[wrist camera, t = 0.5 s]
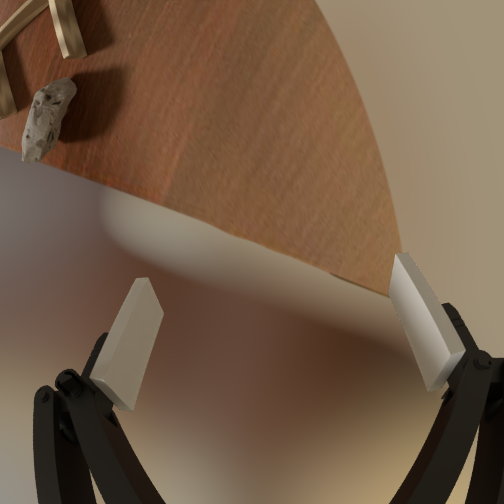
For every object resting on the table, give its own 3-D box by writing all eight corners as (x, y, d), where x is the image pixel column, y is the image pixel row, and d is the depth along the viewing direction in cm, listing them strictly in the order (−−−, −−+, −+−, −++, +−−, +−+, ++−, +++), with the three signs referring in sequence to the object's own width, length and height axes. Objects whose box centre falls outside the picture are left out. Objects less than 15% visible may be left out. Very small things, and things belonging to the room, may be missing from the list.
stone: (50, 158, 37) (33, 173, 29) (25, 144, 34) (3, 157, 26) (89, 88, 34) (79, 85, 27) (63, 73, 31) (47, 68, 23)
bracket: (-3, 50, 25) (-20, 52, 20) (67, -15, 21) (50, -19, 17) (14, 114, 33) (-4, 121, 29) (87, 55, 29) (68, 54, 25)
